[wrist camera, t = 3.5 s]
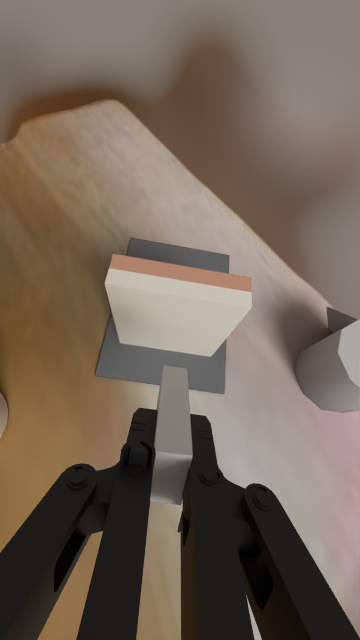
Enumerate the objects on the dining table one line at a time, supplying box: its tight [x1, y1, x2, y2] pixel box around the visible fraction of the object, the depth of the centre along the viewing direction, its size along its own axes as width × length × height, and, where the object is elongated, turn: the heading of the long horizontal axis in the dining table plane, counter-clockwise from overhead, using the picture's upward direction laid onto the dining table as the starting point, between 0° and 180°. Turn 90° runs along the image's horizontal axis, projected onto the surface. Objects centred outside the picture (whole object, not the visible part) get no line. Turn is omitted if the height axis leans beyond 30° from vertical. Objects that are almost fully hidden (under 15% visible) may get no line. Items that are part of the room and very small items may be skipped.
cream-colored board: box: [105, 254, 252, 357], centre depth 27 cm, size 3×12×14 cm, turn 83°
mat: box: [95, 238, 229, 394], centre depth 36 cm, size 22×16×1 cm
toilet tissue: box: [295, 307, 360, 413], centre depth 32 cm, size 9×13×9 cm
